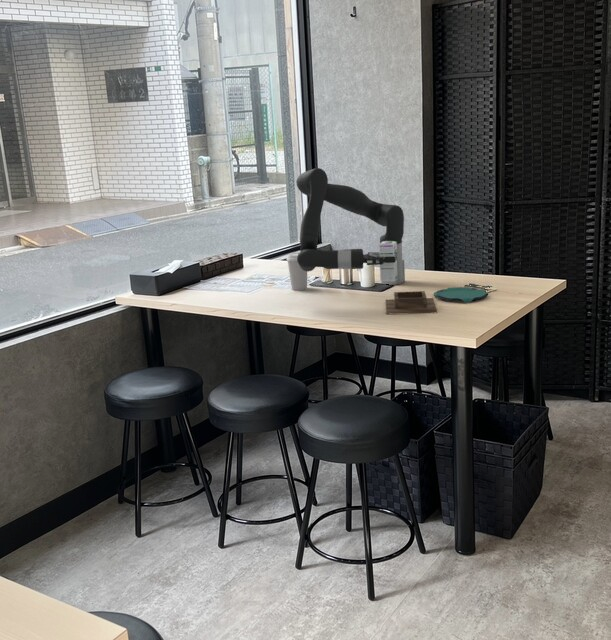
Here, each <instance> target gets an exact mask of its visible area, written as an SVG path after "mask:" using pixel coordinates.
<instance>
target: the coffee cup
mask: <svg viewBox="0 0 611 640" xmlns="http://www.w3.org/2000/svg"><path fill="white" fill-rule="evenodd" d="M299 253H300V252H291V253H288V254H287V256H286V261H287V267H288V274H289V279H290V285H291V290H292V291H304V289H305V290H307V289H308V271H304V270H302V269H301V268H300V266H299V264H298V261H297V256H298V254H299Z"/></svg>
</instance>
